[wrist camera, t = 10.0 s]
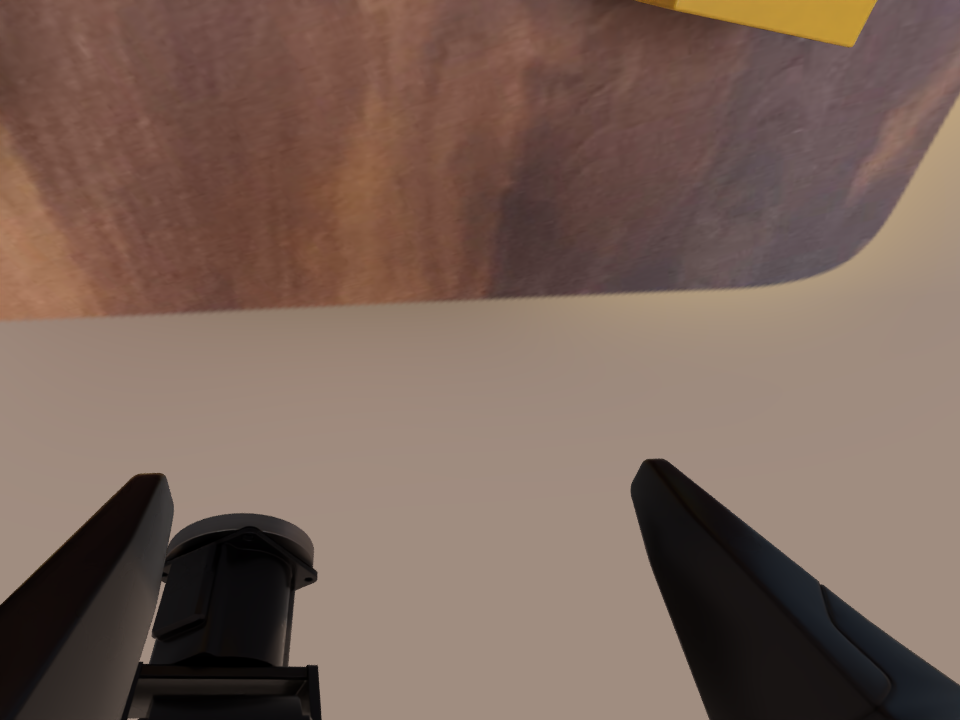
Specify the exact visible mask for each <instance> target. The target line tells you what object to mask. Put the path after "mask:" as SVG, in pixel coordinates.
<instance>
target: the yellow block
mask: <svg viewBox="0 0 960 720" xmlns="http://www.w3.org/2000/svg"><path fill="white" fill-rule="evenodd" d="M634 1H638V2H642V3H646V4H650V5H654V6H658V7H662V8H666V9H670V10H674V11H679V12H684V13H689V14H693V15H698V16H703V17H707V18H712V19H717V20H722V21H726V22H731V23H736V24H740V25H745V26H750V27H755V28H759V29H764V30H769V31H773V32H778V33H783V34H788V35H792V36H797V37H802V38H806V39H811V40H816V41H821V42H825V43H830V44H835V45H839V46H844V47H852V46H853V45H854V44H855V42H856V40H857V38H858V36H859V34H860V32H861V30H862V28H863V26H864V24H865V23H866V21H867V19H868V17H869V15H870V13H871V11H872V9H873V7H874V5H875V3H876V1H877V0H634Z"/></svg>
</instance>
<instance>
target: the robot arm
mask: <svg viewBox="0 0 960 720" xmlns="http://www.w3.org/2000/svg"><path fill="white" fill-rule="evenodd" d="M631 497H632V500H633V504H634V508H635V512H636V515H637V519H638V523H639V526H640V530H641V533H642V537H643V541H644V545H645V549H646V552H647V555H648V559H649V562H650V565H651V567H652V571H653V573H654V576H655V579H656V581H657V584H658V586H659V589H660V592H661V594H662V597H663V599H664V602H665V605H666V607H667V610H668V612H669V615H670V618H671V620H672V623H673V626H674V628H675V631H676V633H677V636H678V639H679V641H680V644H681V646H682V649H683V652H684V654H685V657H686V659H687V662H688V665H689V667H690V670H691V672H692V675H693V678H694V680H695V683H696V686H697V688H698V691H699V693H700V696H701V698H702V701H703V704H704V706H705V709H706V712H707V714H708V717H709V720H960V685H959V684H957V683H956V682H954V681H953V680H952V679H950V678H949V677H947V676H946V675H945V674H943V673H942V672H940V671H939V670H937V669H936V668H935V667H933V666H931V665H930V664H929V663H927V662H926V661H925V660H923V659H922V658H920V657H919V656H918V655H916V654H915V653H913V652H912V651H911V650H909V649H908V648H906V647H905V646H903V645H902V644H901V643H899V642H898V641H896V640H895V639H893V638H892V637H891V636H889V635H888V634H887V633H885V632H884V631H883V630H881V629H880V628H879V627H877V626H876V625H874V624H873V623H872V622H870V621H869V620H867V619H866V618H865V617H864V616H862V615H861V614H860V613H858V612H857V611H856V610H854V609H853V608H852V607H851V606H849V605H848V604H847V603H846V602H844V601H843V600H842V599H840V598H839V597H838V596H837V595H835V594H834V593H833V592H831V591H830V590H829V589H828V588H827V587H825V586H824V585H820V583H819V581H817V580H816V579H815V578H814V577H813V576H811V575H810V574H809V573H808V572H806V571H805V570H804V569H803V568H801V567H800V566H799V565H797V564H796V563H795V562H794V561H792V560H791V559H790V558H789V557H787V556H786V555H785V554H784V553H782V552H781V551H780V550H779V549H777V548H776V547H775V546H774V545H772V544H771V543H770V542H769V541H767V540H766V539H765V538H764V537H762V536H761V535H760V534H758V533H757V532H756V531H755V530H753V529H752V528H751V527H750V526H748V525H747V524H746V523H745V522H743V521H742V520H741V519H740V518H738V517H737V516H736V515H735V514H733V513H732V512H731V511H730V510H728V509H727V508H726V507H725V506H723V505H722V504H721V503H720V502H718V501H717V500H716V499H715V498H713V497H712V496H711V495H709V494H708V493H707V492H706V491H704V490H703V489H702V488H701V487H699V486H698V485H697V484H696V483H694V482H693V481H692V480H691V479H689V478H688V477H687V476H685V475H684V474H683V473H682V472H681V471H679V470H678V469H677V468H676V467H674V466H673V465H672V464H671V463H669V462H668V461H666V460H664V459H646V460H645V461H643V463H642V464H641V466H640V468H639V470H638V472H637V474H636V476H635V478H634V480H633V482H632V484H631ZM173 513H174V505H173V501H172V497H171V493H170V489H169V486H168V482H167V479H166V477H165V475H164V474H161V473H147V474H145V473H144V474H137V475H135V476H134V477H132V478H131V479H130V480H129V481H128V482H127V483H126V484H125V485H124V486H123V487H122V488H121V489H120V490H119V491H118V492H117V493H116V494H115V495H113V496H112V497H111V498H110V499H109V500H108V501H107V502H106V503H105V504H104V505H103V506H102V507H101V508H100V509H99V510H98V511H97V512H96V513H95V514H94V515H93V516H92V517H91V518H90V519H89V520H88V521H87V522H86V523H85V524H84V525H83V526H81V528H79V529H78V530H77V531H76V532H75V533H74V535H72V536H71V537H70V538H69V539H68V540H67V541H66V542H65V543H64V544H63V545H62V546H61V547H60V548H59V549H58V550H57V551H56V552H55V553H54V554H53V555H52V556H51V557H49V558H48V559H47V560H46V561H45V562H44V563H43V564H42V565H41V566H40V567H39V568H38V569H37V570H36V571H35V572H34V573H33V574H32V575H31V576H30V577H29V578H28V579H27V580H26V581H25V582H24V583H23V584H22V585H21V586H20V587H19V588H18V589H16V590H15V591H14V593H12V594H11V595H10V596H9V597H8V598H7V599H6V600H5V601H4V602H3V603H2V604H1V605H0V720H127V718H139V719H138V720H322V719H321V704H320V690H319V677H318V676H319V675H318V666H317V665H307V666H306V667H288V661H289V651H290V640H291V628H292V617H293V606H294V595H295V590H297V589H300V588H302V587H305V586H307V585H310V584H312V583H314V582H316V581H317V573H318V572H317V571H316V570H315V569H314V568H312V567H311V566H309V565H308V564H307V563H305V562H304V561H303V560H301V559H300V558H298V557H297V556H296V555H294V554H293V553H292V552H290V551H289V550H287V549H286V548H285V547H283V546H282V545H281V544H279V543H278V542H276V541H275V540H274V539H272V538H271V537H270V536H268V535H267V534H265V533H264V532H263V531H261V530H260V529H259V528H257V527H254V526H246V527H243V528H241V529H238V530H236V531H234V532H231V533H229V534H227V535H224V536H222V537H220V538H217V539H215V540H213V541H210V542H208V543H206V544H203V545H201V546H199V547H196V548H194V549H192V550H189V551H187V552H185V553H182V554H180V555H178V556H175V557H173V558H171V559H169V560H166V561H165V558H166V553H167V547H168V542H169V537H170V531H171V526H172V521H173ZM161 581H163V582H164V583H166V584H165V588H164V591H163V595H162V599H161V602H160V605H159V609H158V612H157V616H156V619H155V623H154V626H153V629H152V637H153V638H154V639H156V641H155V645H154V648H153V651H152V655H151V658H150V662H149V664H143V662H139V660H140V657H141V654H142V650H143V647H144V644H145V641H146V638H147V635H148V631H149V628H150V625H151V622H152V619H153V615H154V612H155V608H156V604H157V600H158V595H159V590H160V585H161Z"/></svg>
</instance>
